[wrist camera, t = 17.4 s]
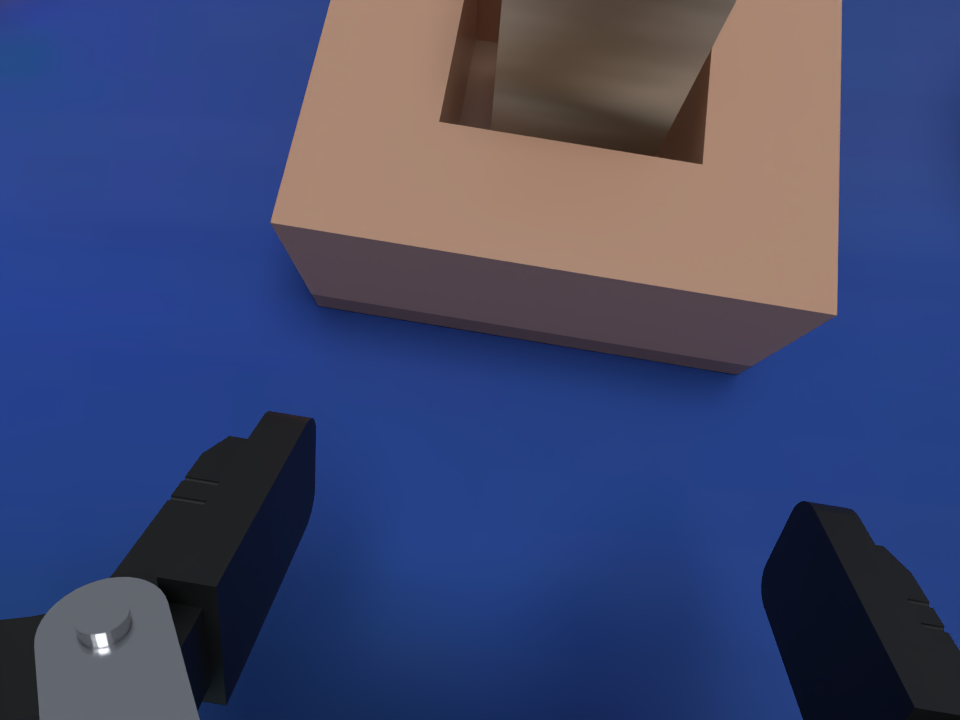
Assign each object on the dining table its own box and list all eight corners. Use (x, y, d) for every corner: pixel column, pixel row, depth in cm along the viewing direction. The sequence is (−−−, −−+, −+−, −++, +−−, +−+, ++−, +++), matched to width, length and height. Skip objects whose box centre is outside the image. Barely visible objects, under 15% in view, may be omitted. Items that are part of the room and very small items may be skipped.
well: (757, 27, 24) (843, -121, 19) (737, 374, 20) (836, 315, 15) (398, -31, 24) (382, -194, 19) (318, 305, 20) (270, 222, 15)
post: (638, 92, 22) (785, -266, 12) (626, 213, 21) (777, -79, 11) (505, 71, 22) (545, -303, 12) (485, 190, 21) (512, -120, 11)
